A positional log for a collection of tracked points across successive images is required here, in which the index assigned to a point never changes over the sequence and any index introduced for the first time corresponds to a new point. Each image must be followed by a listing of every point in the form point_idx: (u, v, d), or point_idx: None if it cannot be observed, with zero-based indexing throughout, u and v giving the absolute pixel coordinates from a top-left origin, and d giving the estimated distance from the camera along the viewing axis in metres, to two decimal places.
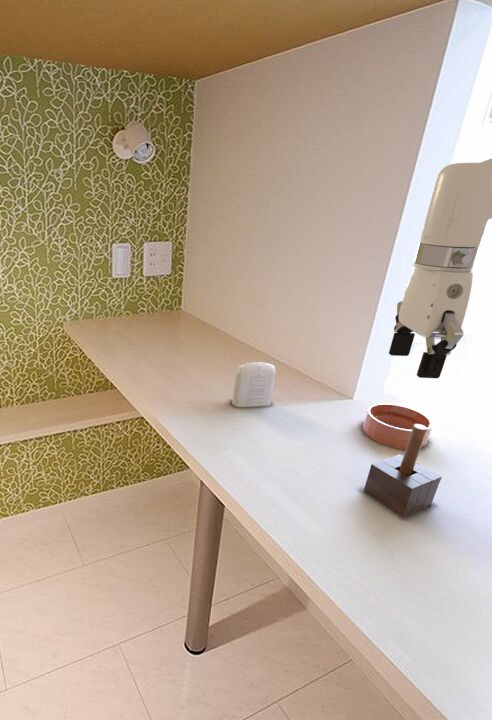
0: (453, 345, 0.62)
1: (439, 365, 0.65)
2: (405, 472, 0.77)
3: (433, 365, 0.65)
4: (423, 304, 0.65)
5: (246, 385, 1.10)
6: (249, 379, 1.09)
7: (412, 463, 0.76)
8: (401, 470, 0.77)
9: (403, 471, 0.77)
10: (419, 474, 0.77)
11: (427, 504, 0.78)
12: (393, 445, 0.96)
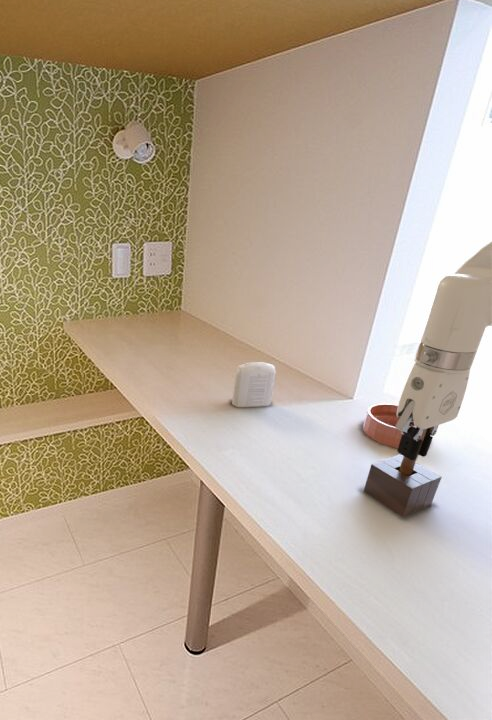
0: (406, 432, 0.72)
1: (409, 447, 0.74)
2: (405, 472, 0.77)
3: (404, 445, 0.75)
4: None
5: (246, 385, 1.10)
6: (249, 379, 1.09)
7: (412, 463, 0.76)
8: (401, 470, 0.77)
9: (403, 471, 0.77)
10: (419, 474, 0.77)
11: (427, 504, 0.78)
12: (393, 445, 0.96)
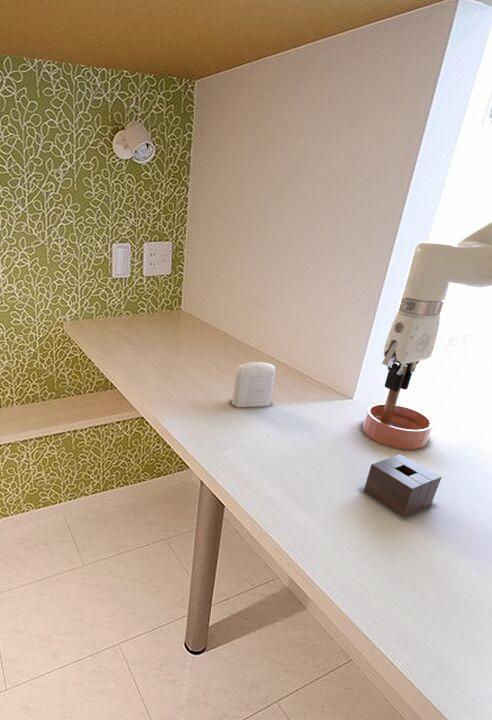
0: (391, 367, 0.92)
1: (393, 381, 0.94)
2: (390, 403, 0.97)
3: (390, 379, 0.95)
4: None
5: (246, 385, 1.10)
6: (249, 379, 1.09)
7: (396, 395, 0.96)
8: (387, 401, 0.98)
9: (389, 402, 0.97)
10: (419, 474, 0.77)
11: (427, 504, 0.78)
12: (393, 445, 0.96)
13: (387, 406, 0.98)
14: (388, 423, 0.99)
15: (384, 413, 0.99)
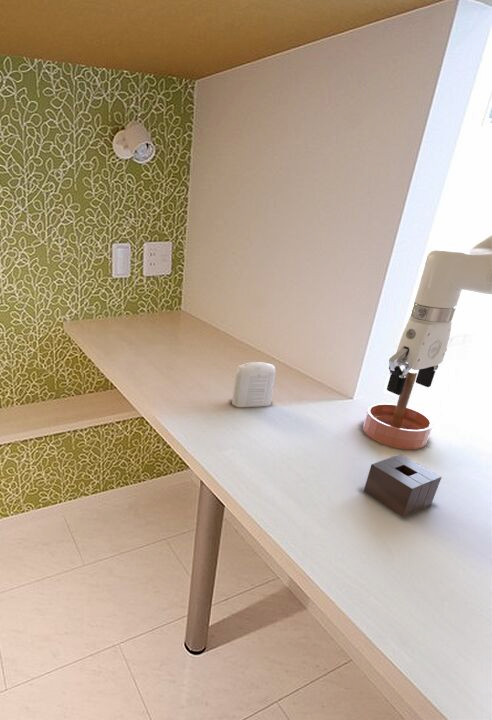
0: (393, 368, 0.90)
1: (396, 384, 0.92)
2: (400, 409, 0.98)
3: (392, 383, 0.93)
4: None
5: (246, 385, 1.10)
6: (249, 379, 1.09)
7: (405, 401, 0.97)
8: (397, 408, 0.98)
9: (399, 408, 0.98)
10: (419, 474, 0.77)
11: (427, 504, 0.78)
12: (393, 445, 0.96)
13: (397, 412, 0.99)
14: None
15: (394, 419, 0.99)
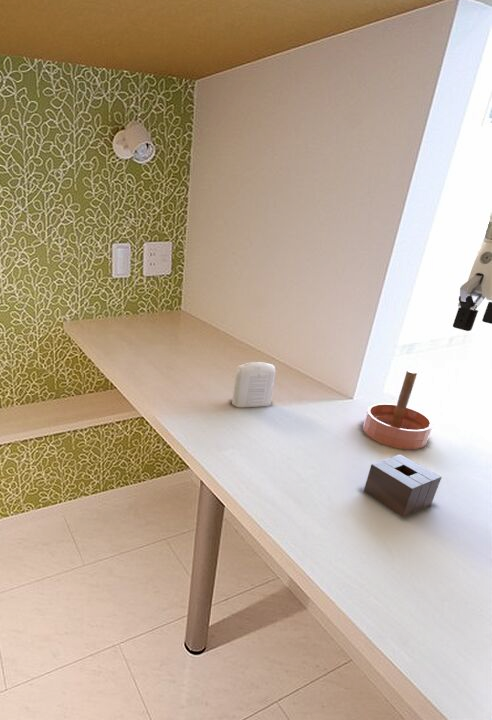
0: (465, 298, 0.79)
1: (465, 318, 0.82)
2: (400, 409, 0.98)
3: (461, 317, 0.82)
4: None
5: (246, 385, 1.10)
6: (249, 379, 1.09)
7: (405, 401, 0.97)
8: (397, 408, 0.98)
9: (399, 408, 0.98)
10: (419, 474, 0.77)
11: (427, 504, 0.78)
12: (393, 445, 0.96)
13: (397, 412, 0.99)
14: None
15: (394, 419, 0.99)
